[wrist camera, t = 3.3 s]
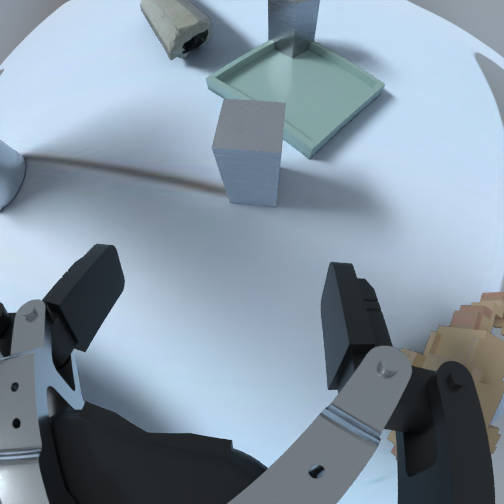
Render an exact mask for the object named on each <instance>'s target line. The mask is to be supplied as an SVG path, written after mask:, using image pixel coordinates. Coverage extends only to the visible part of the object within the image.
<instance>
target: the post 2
mask: <svg viewBox="0 0 504 504" xmlns="http://www.w3.org/2000/svg"><path fill="white" fill-rule="evenodd" d="M319 3H320V0H268V41H269V40H272V41H274V42H275V50H277V51H279V52H281V53H283V54H285V55H286V56H288V57H290V58H294V57H296V56H298V55H300V54H302V53H304V52H306V51H308V50H309V49H310V43H311V42H314V37H315V31H316V24H317V17H318V10H319Z"/></svg>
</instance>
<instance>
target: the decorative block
mask: <svg viewBox="0 0 504 504" xmlns="http://www.w3.org/2000/svg"><path fill="white" fill-rule="evenodd" d="M140 7H141V11H142V13H143V14H144V16H145V18H146V19H147V21H148V22H149V24H150V26H151V27H152V29H153V31H154V33H155V34H156V36H157V37H158V39H159V41H160V42H161V44H162V45H163V47H164V49H165V51H166V53H167V54H168V57H169V59H170V60H173V59H174V58H176V57H179V58H184V59H185V58H186V57H187V55H188V54H189V53H190V52H191V51H193V50H189V51H184V50H185V49H184V48H185V47H187V46H184V47H183V45H184V43H185V42H187V41H189V40H191V38H192V37H194V39H195V43H196V44H199V47H198V48H200V47H201V46H203V45H204V44H206V43H207V42H208V41H209V40H211V38H212V35H213V30H212V27H213V24H212V22H211V21H210V18H209V17H208V16H207V15H205V14H204V13H203V12H201V11H200V10H199V9H198V8H197V7H196V6H195V5H193V4H192V3H191V2H190V1H188V0H141V4H140ZM189 44H190V43H189ZM190 45H192V44H190ZM182 47H183V48H182ZM198 48H196V49H198ZM196 49H194V50H196Z"/></svg>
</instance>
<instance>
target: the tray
mask: <svg viewBox="0 0 504 504" xmlns="http://www.w3.org/2000/svg"><path fill="white" fill-rule="evenodd" d="M206 82H207V86H208V89H209V90H211V91H212V92H214V93H216V94H217V95H219V96H221V97H222V98H224V99H238V100H257V101H271V102H282V103H286V108H285V120H284V131H283V139H284V140H285V141H286V142H288V143H289V144H290V145H291V146H293V147H294V148H295V149H297V150H298V151H299V152H301V153H302V154H303V155H304V156H306V157H307V158H308V159H310V158H311V157H312V156H313V155H314V154H315V153H317V152H318V151H319V150H320V149H321V148H322V147H323V146H324V145H325V144H326V143H327V142H328V141H329V140H330V139H332V138H333V137H334V136H335V135H336V134H337V133H338V132H339V131H340V130H341V129H342V128H343V127H345V126H346V125H347V124H348V123H349V122H350V121H351V120H352V119H353V118H354V117H356V116H357V115H358V114H359V113H360V112H361V111H362V110H363V109H364V108H365V107H367V106H368V105H369V104H370V103H371V102H372V101H373V100H374V99H376V98H377V97H378V96H379V95H380V94H381V92H382V90H383V88H384V86H385V84H384V83H383V82H381V81H380V80H378V79H377V78H375V77H374V76H372V75H371V74H369V73H368V72H366V71H365V70H363V69H362V68H360V67H359V66H357V65H355V64H354V63H352V62H350V61H349V60H347V59H345V58H344V57H342V56H340V55H338V54H337V53H335V52H333V51H331V50H329V49H328V48H326V47H324V46H322V45H320V44H318V43H316V42H311V43H310V49H309V50H308V51H306V52H304V53H302V54H300V55H298V56H296V57H294V58H290V57H288V56H286V55H285V54H283V53H281V52H279V51H277V50H275V42H274V41H272V40H269V41H268V42H266V43H264V44H262V45H260V46H258V47H256V48H254V49H253V50H251V51H249V52H247V53H246V54H244V55H242V56H240V57H239V58H237V59H235V60H234V61H232V62H230V63H229V64H227V65H226V66H224V67H222V68H221V69H219V70H218V71H216V72H215V73H213V74H212V75H210V76H209V77H207V78H206Z"/></svg>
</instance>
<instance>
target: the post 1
mask: <svg viewBox="0 0 504 504" xmlns="http://www.w3.org/2000/svg"><path fill="white" fill-rule="evenodd" d="M285 108H286V103H282V102H271V101H257V100H238V99H224V101H223V105H222V108H221V112H220V116H219V120H218V124H217V128H216V133H215V137H214V141H213V145H212V150H213V153H214V156H215V159H216V162H217V165H218V168H219V171H220V174H221V177H222V180H223V183H224V186H225V189H226V192H227V195H228V198H229V201H230V203H239V204H249V205H259V206H269V207H276V202H277V193H278V183H279V173H280V163H281V152H282V142H283V131H284V120H285Z"/></svg>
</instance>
